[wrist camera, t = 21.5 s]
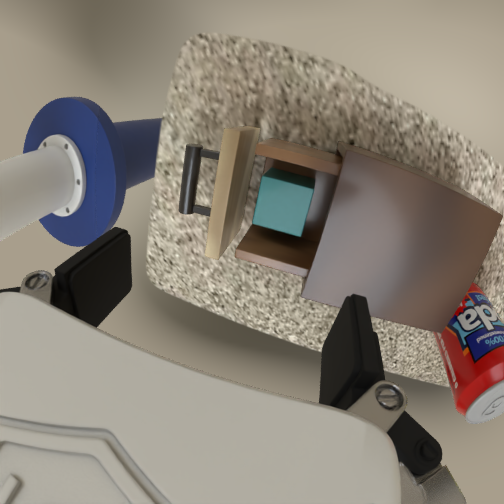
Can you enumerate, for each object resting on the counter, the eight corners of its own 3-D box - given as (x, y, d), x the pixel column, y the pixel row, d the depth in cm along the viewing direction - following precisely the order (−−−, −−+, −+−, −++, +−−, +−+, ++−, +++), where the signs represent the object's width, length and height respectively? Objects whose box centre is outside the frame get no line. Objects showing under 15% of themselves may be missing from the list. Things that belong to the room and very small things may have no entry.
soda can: (417, 327, 30) (443, 431, 17) (441, 272, 26) (493, 374, 13) (464, 332, 29) (498, 424, 15) (489, 281, 25) (545, 370, 12)
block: (261, 208, 26) (251, 223, 23) (270, 167, 24) (261, 175, 21) (304, 220, 26) (300, 237, 22) (315, 178, 24) (314, 189, 20)
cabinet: (307, 250, 29) (300, 297, 22) (338, 140, 24) (346, 149, 16) (419, 284, 28) (441, 333, 20) (460, 188, 22) (503, 215, 15)
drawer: (193, 217, 29) (162, 243, 24) (207, 119, 25) (174, 120, 19) (348, 260, 28) (353, 299, 22) (381, 162, 23) (400, 176, 17)
